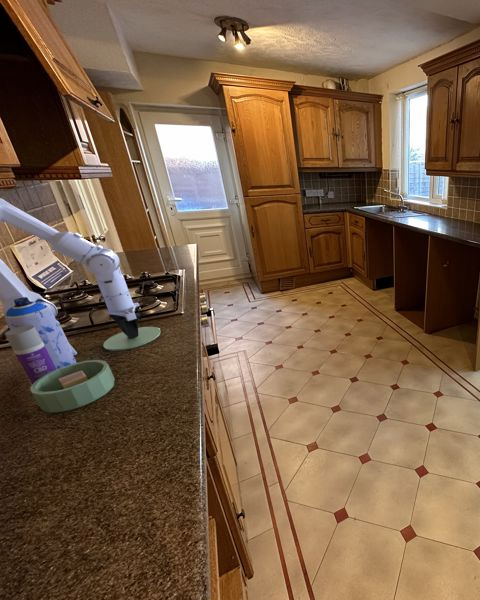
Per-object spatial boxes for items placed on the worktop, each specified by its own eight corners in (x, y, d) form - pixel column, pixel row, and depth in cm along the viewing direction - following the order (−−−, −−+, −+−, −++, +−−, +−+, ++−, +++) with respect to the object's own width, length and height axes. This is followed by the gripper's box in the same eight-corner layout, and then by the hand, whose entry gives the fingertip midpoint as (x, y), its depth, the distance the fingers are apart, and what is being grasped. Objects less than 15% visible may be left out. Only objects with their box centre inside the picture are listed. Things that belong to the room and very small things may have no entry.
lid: (98, 343, 95) (92, 329, 93) (151, 325, 105) (147, 313, 103) (112, 357, 88) (106, 343, 86) (168, 337, 98) (164, 324, 96)
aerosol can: (67, 359, 87) (33, 291, 80) (85, 364, 85) (51, 294, 77) (28, 376, 81) (-13, 303, 73) (46, 382, 78) (5, 307, 70)
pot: (35, 397, 73) (25, 379, 71) (106, 370, 82) (98, 354, 80) (47, 421, 66) (36, 402, 64) (122, 388, 75) (114, 371, 73)
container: (45, 392, 74) (14, 336, 69) (30, 390, 75) (-3, 334, 69) (68, 380, 79) (40, 326, 73) (53, 378, 80) (24, 324, 74)
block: (65, 393, 74) (58, 378, 72) (88, 384, 77) (81, 370, 75) (69, 399, 71) (62, 385, 70) (93, 390, 74) (86, 376, 73)
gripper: (142, 294, 89) (157, 337, 95) (124, 284, 97) (139, 324, 103) (110, 302, 84) (128, 347, 89) (94, 291, 92) (111, 333, 97)
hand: (132, 335), depth 96 cm, fingers closed on lid, 2 cm apart
